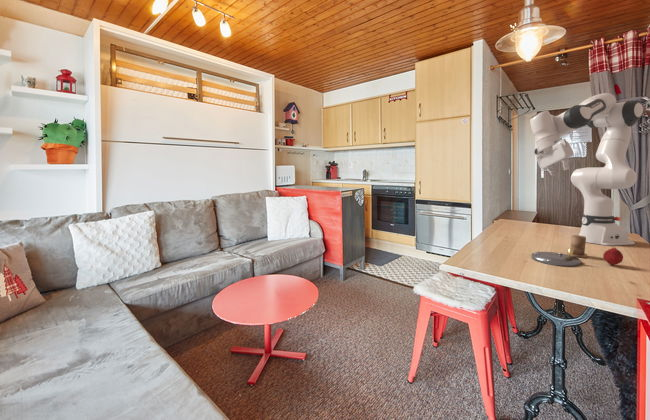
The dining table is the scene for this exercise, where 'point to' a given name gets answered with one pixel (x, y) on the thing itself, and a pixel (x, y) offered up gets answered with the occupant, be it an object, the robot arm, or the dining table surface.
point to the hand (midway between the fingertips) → (560, 172)
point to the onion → (613, 256)
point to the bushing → (578, 246)
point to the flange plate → (556, 258)
